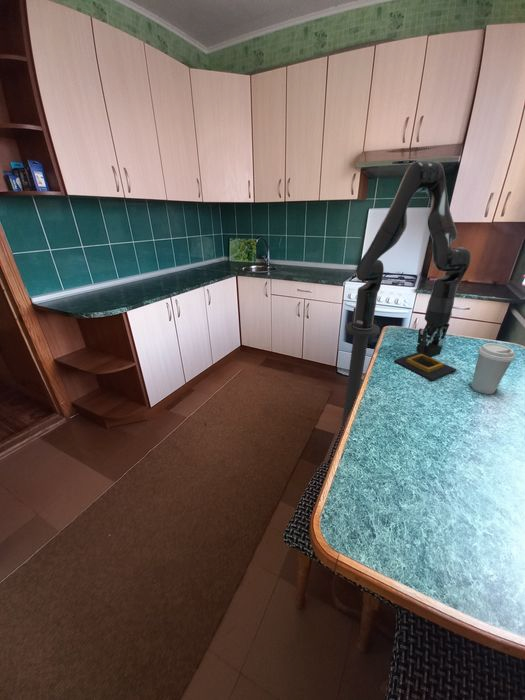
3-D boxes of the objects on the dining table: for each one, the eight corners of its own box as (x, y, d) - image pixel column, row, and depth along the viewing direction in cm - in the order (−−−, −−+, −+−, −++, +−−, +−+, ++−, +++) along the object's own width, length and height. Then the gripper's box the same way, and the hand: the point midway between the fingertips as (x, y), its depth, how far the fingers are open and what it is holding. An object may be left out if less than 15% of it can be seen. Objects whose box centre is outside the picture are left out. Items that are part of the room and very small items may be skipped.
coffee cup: (473, 395, 94) (488, 354, 87) (461, 379, 103) (474, 341, 96) (506, 398, 93) (524, 356, 86) (491, 381, 101) (506, 343, 94)
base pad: (393, 362, 115) (395, 356, 113) (417, 354, 120) (418, 348, 119) (431, 381, 102) (433, 375, 101) (455, 371, 108) (457, 365, 106)
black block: (415, 351, 110) (417, 344, 108) (425, 348, 112) (427, 341, 110) (430, 357, 105) (432, 350, 103) (440, 354, 107) (442, 347, 106)
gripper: (442, 302, 106) (431, 344, 114) (416, 308, 101) (406, 352, 108) (462, 307, 101) (449, 351, 108) (436, 315, 95) (424, 360, 102)
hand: (428, 351), depth 108 cm, fingers closed on black block, 5 cm apart
